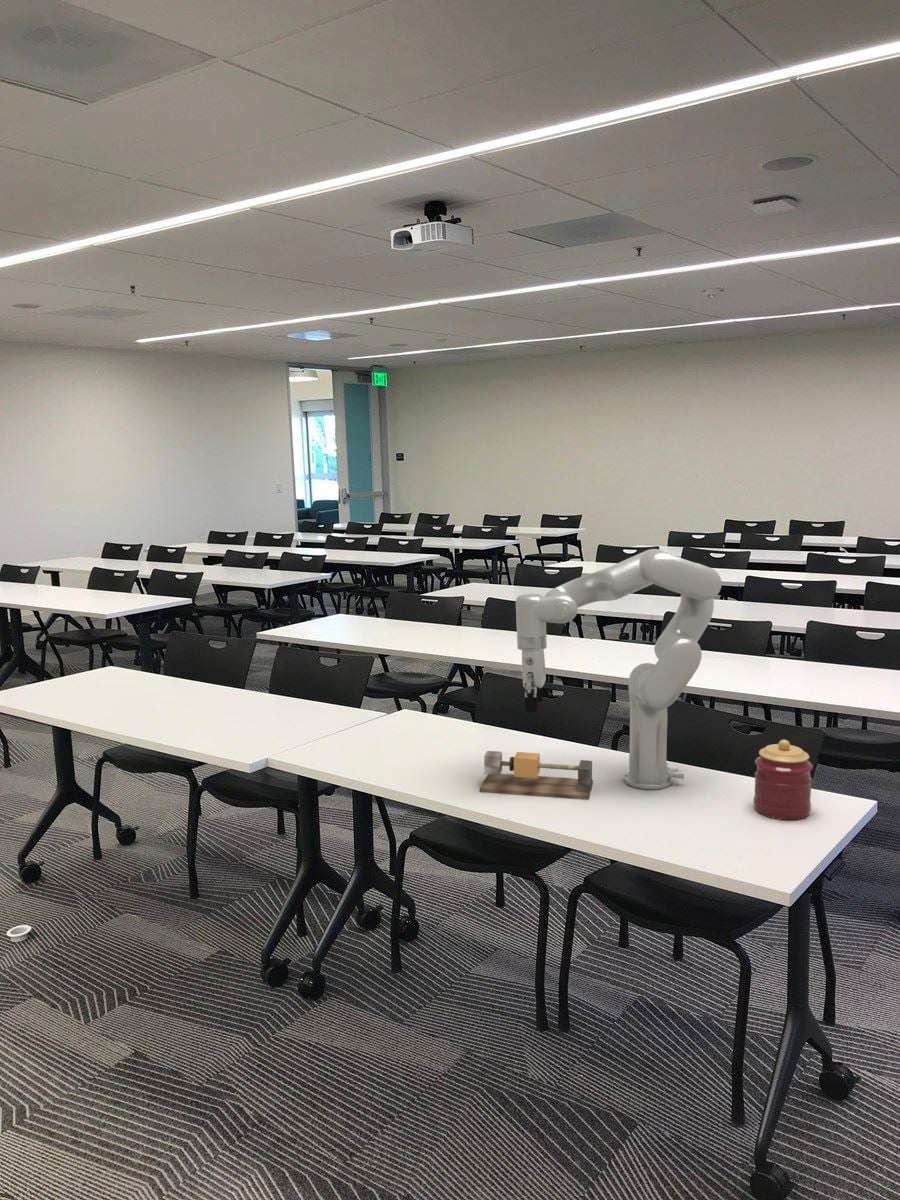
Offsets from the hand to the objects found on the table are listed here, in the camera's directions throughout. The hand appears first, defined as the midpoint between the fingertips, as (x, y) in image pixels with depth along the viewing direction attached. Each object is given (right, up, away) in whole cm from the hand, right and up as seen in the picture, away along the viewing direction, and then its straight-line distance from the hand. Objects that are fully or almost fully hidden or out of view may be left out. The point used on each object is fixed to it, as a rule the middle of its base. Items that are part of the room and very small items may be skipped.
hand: (534, 706), depth 234 cm
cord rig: (+1, -21, +2) cm, 21 cm away
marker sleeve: (-2, -18, +2) cm, 18 cm away
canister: (+58, -23, -17) cm, 65 cm away
